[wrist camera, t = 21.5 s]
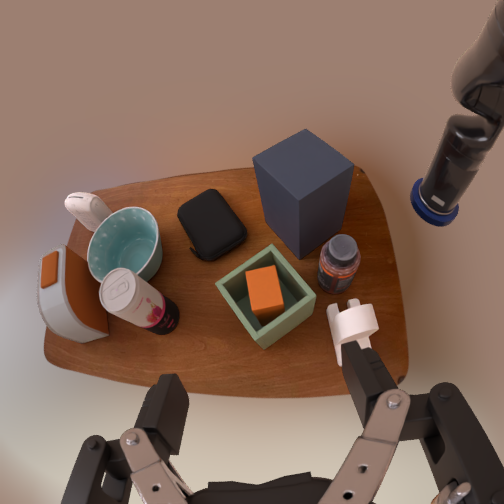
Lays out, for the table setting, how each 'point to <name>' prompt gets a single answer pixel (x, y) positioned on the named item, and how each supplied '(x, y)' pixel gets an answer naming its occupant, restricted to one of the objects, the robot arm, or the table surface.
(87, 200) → the photo printer
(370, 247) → the table surface
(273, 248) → the open box
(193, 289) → the table surface
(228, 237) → the carrying case
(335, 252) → the supplement bottle
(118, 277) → the beverage can
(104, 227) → the bowl
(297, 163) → the stand
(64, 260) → the orange grey trash bin
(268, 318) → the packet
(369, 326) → the cable organizer
